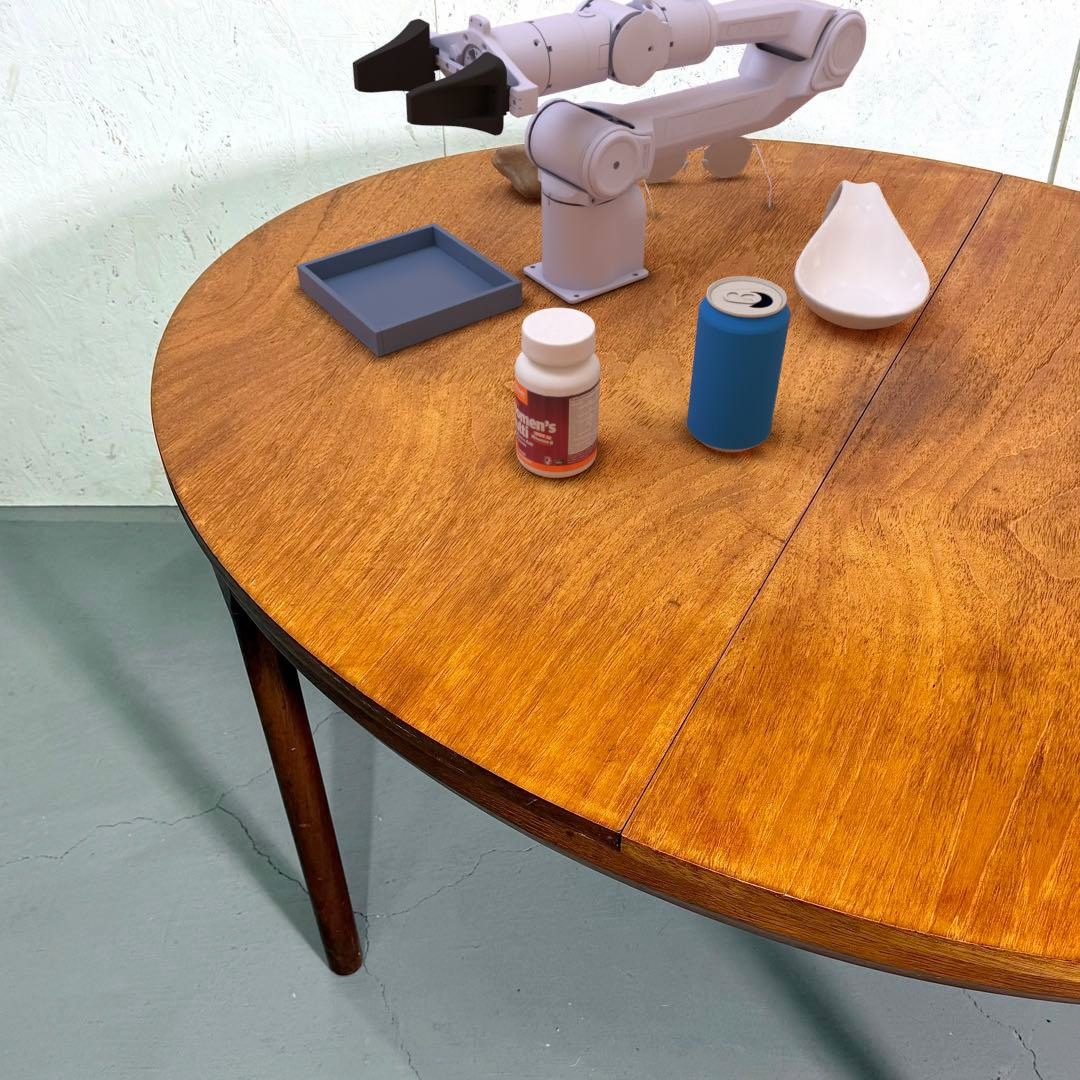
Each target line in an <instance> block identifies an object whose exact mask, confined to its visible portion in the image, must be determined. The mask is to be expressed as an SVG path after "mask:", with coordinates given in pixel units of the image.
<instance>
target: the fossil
mask: <svg viewBox="0 0 1080 1080" xmlns="http://www.w3.org/2000/svg"><path fill="white" fill-rule="evenodd" d="M490 161H491V164H492V166H493V167H494V168H495V169H496V171H497V172H499V174H500V175H501V176H502V177H505V178H506V179H508V180H509V181H510V184H511V185H512V187H513V188H514V189H515V190H516V192H517V193H519V194H520V195H522V196H523V197H525V198H526V199H541V200H542V183H541V182H540V181H539V180H538V167H536V166H535V165H533V163H532V162H531V161H530V160H529V158H528V156H527V154H526V150H525V143H520V144H513V145H507V146H500V147H498V148H497V149H496V150H495V152H494V154H492V155H491V157H490Z"/></svg>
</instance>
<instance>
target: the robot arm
mask: <svg viewBox="0 0 1080 1080" xmlns="http://www.w3.org/2000/svg"><path fill="white" fill-rule="evenodd" d="M430 25H431V24H430V23H429V22H427V21H425V20H423V19H422V18H415V19H412V20H410V21H409V22H408V23H407V25H406V26H405V27H404V28H403V29H402V30H401V31H400V32H399V33H398V34H397V35H396V36H395V37H394V38H393V39H391V40H390V41H388V42H386V43H385V44H383V45H381V46H380V47H378V48H376V49H374V50H373V51H371V52H369V53H367V54H365V55H363V56H361V57H359V58H358V59H356V60H354V61H353V62H352V74H353V86H354V89H355V90H356V91H357V92H359V93H369V94H373V93H374V94H375V93H387V92H406V93H405V106H406V107H405V108H406V110H405V111H406V122H407V123H408V124H410V125H412V126H422V127H423V126H425V127H455V128H464V129H465V128H466V129H471V130H476V131H478V132H479V131H480V132H483V133H486V134H489V135H492V136H495V137H496V136H500V135H502V134H503V131H504V127H505V116H508V112H509V113H510V115H511V116H512V117H515V118H517V119H519V118H524V117H528V116H530V118H529V120H528V123H527V125H526V128H525V132H524V139H523V140H524V141H523V142H524V143H523V144H525V150H526V154H527V156H528V158H529V160H530V161H531V162H532V163H533V165H535V166H536V167H538V180H539V181H540V182H541V183H542V199H541V261H538V262H535V263H533V264H530V265H526V266H525V267H524V268H523V274H524V275H526V276H528V277H529V278H531V279H532V280H533V281H535V282H536V283H538V284H539V285H541V286H543V288H546V289H547V290H549V292H552V293H553V294H554V295H556V296H557V297H559V298H561V299H562V300H563V301H565V302H566V303H568V304H571V305H573V304H577V303H581V302H582V301H583V302H584V301H585V300H588V299H591V298H593V297H596V296H599V295H601V294H605V293H607V292H610V291H612V290H615V289H618V288H621V287H623V286H626V285H628V284H631V283H634V282H637V281H639V280H643V279H645V278H648V277H649V273H650V272H649V271H648V269H645V268H644V262H645V245H646V231H647V229H646V228H647V204H646V200H645V196H644V193H643V191H642V188H641V187H640V186H639V184H638V182H640V181H645V180H644V179H647V178H648V177H649V175H650V172H651V169H652V166H653V162H654V160H657V159H661V158H664V157H668V156H671V155H675V154H678V153H682V152H686V151H689V150H693V149H701V148H703V147H708V146H709V145H711V144H714V143H718V142H721V141H725V140H729V139H732V138H736V137H739V136H742V137H744V136H746V135H750V134H753V133H757V132H761V131H765V130H768V129H772V128H774V127H777V126H778V125H780V124H781V123H783V122H784V121H786V120H787V119H788V118H789V117H791V116H792V115H793V114H795V112H797V111H798V110H800V109H801V108H803V106H804V105H806V104H807V103H809V101H810V102H811V100H812V99H814V98H815V97H816V96H817V95H819V94H821V93H824V92H829V91H831V90H835V89H839V88H842V87H843V86H844V85H845V84H846V82H847V80H848V78H849V77H850V75H851V74H852V72H853V70H854V68H855V67H856V66H857V63H858V62H860V59H861V57H862V55H863V53H864V49H865V48H866V47H865V46H866V41H867V23H866V19H865V17H864V15H863V14H862V13H861V12H860V11H858V10H856V9H852V8H842V7H839V6H835V5H833V4H829V3H825V2H822V1H820V0H819V1H818V0H730V1H725V2H724V1H723V2H719V3H716V4H711V2H710V1H709V0H631V1H628V2H626V3H625V4H623V3H620V2H617V1H614V0H582V1H581V2H580V3H579V4H578V5H577V6H576V8H575V9H574V10H573V12H564V13H559V14H554V15H549V16H545V17H540V18H533V19H529V20H524V21H519V22H515V23H509V24H504V25H499V26H494V27H492V26H491V22H490V20H489V19H488V18H487V17H485V16H484V15H481V14H479V13H475V14H471V15H469V17H468V27H467V29H462V30H458V31H452V32H447V33H437V32H435V31H433V30H432V31H431V28H430V27H431V26H430ZM738 45H739V46H740V45H746V46H745V48H744V51H743V54H742V57H741V59H740V62H739V65H738V67H737V73H738V75H739V76H735V77H732V78H731V77H730V78H727V79H722V80H718V81H714V82H710V83H706V84H701V85H697V86H694V87H689V88H684V89H680V90H677V91H673V92H669V93H664V94H660V95H657V96H652V97H648V98H644V99H639V100H636V101H631V102H628V103H627V102H626V103H623V104H621V103H610V102H603V101H602V102H601V101H590V100H589V101H583V102H572V101H570V100H568V99H566V98H563V97H554V98H550V99H547V100H546V101H544V102H542V103H541V104H540V105H539V98H541V97H546V96H551V95H553V94H558V93H562V92H566V91H571V90H576V89H580V88H582V87H586V86H590V85H595V84H598V83H602V82H605V81H607V80H609V81H613V82H616V83H617V84H620V85H625V86H629V87H637V88H640V87H643V86H644V85H645V84H646V83H647V82H649V80H651V78H653V76H654V75H655V73H656V72H661V71H666V70H671V69H672V70H673V69H679V68H683V67H688V66H689V67H690V66H695V65H699V64H702V63H704V62H706V61H707V59H708V58H709V57H710V56H712V53H713V52H714V50H715V48H717V47H728V46H738ZM438 71H439V72H441V74H442V75H443V76H444V77H443V78H440V79H436V72H438Z"/></svg>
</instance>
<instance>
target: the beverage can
mask: <svg viewBox="0 0 1080 1080" xmlns="http://www.w3.org/2000/svg"><path fill="white" fill-rule="evenodd" d="M787 301H788V295H787V293H786V291H785V290H784V289H783V288H782V287H780V286H779V285H778V284H777V283H775V282H772V281H770V280H768V279H764V278H760V277H755V276H746V275H736V276H727V277H724V278H721V279H718V280H716V281H713V282H712V283H711V284H710V285H709V286H708V288H707V289H706V295H705V296H704V297H703V298H702V300H701V301H700V303H699V306H698V312H697V320H696V321H697V323H696V331H695V339H694V341H695V342H694V348H693V349H694V350H693V358H692V359H693V360H692V367H691V368H692V369H691V380H690V388H689V397H688V406H687V408H688V409H687V416H686V426H687V429H688V431H689V433H690V435H692V437H694V439H696V440H697V441H699V442H700V443H702V444H703V445H704V446H706V447H708V448H710V449H712V450H714V451H718V452H723V453H740V452H744V451H747V450H750V449H753V448H755V447H757V446H760V445H761V444H763V443H765V442H766V441H767V440H768V438H769V437H770V435H771V433H772V432H771V431H772V427H773V420H774V415H775V408H776V402H777V396H778V390H779V385H780V379H781V374H782V367H783V361H784V356H785V349H786V345H787V344H786V343H787V338H788V333H789V327H790V321H791V311H790V308H789V305H788V304H787Z"/></svg>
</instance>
